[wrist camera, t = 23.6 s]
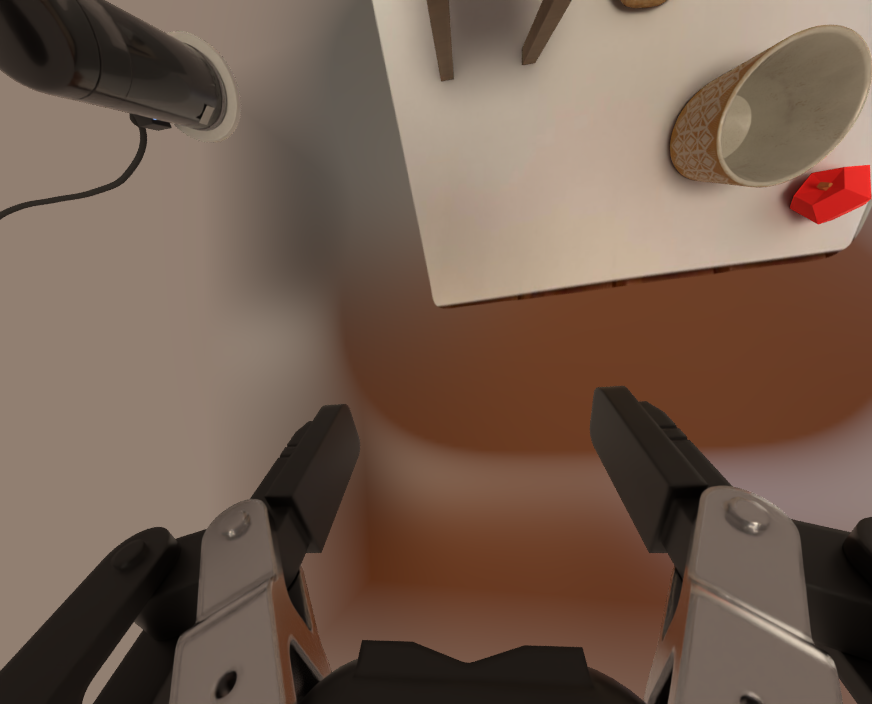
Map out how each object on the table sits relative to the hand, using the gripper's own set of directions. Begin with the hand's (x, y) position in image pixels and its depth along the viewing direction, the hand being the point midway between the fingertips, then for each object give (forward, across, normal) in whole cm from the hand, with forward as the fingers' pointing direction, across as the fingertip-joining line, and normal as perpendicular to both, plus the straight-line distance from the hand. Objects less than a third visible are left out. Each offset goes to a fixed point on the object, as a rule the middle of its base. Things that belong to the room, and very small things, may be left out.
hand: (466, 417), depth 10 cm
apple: (+42, -47, 0) cm, 63 cm away
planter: (+42, -33, -9) cm, 54 cm away
